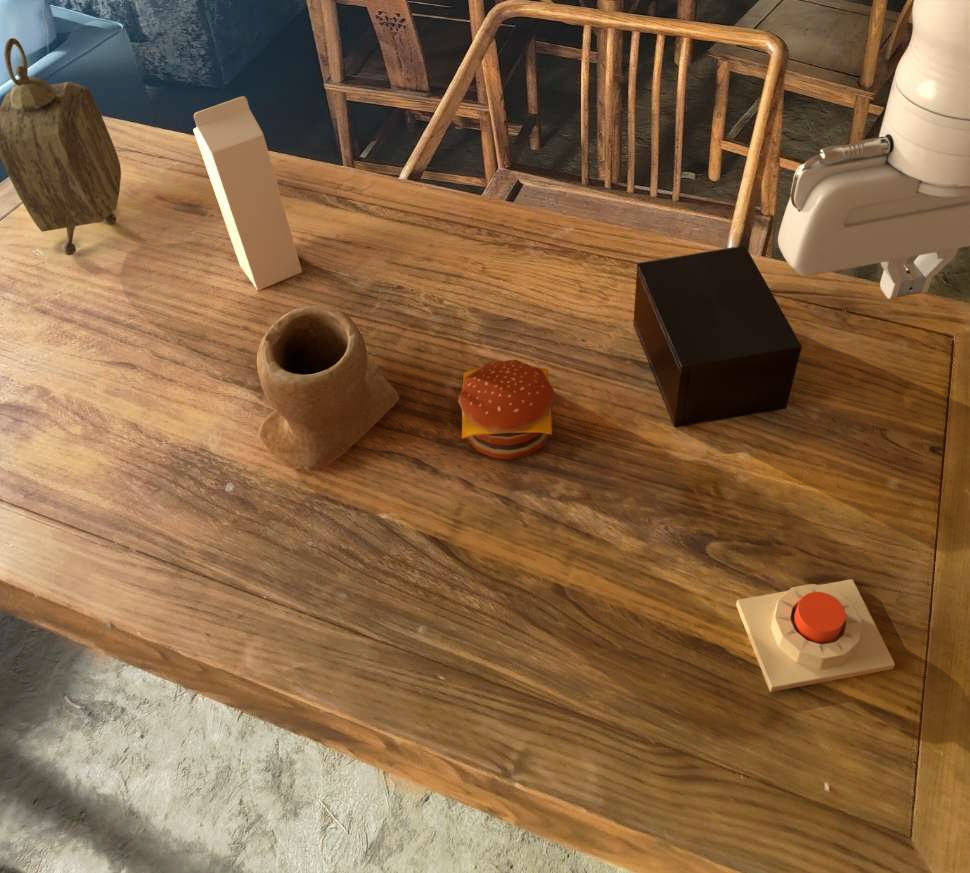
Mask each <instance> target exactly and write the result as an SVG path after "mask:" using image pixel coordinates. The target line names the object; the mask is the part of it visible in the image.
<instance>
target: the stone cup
mask: <svg viewBox="0 0 970 873" xmlns="http://www.w3.org/2000/svg"><path fill="white" fill-rule="evenodd" d="M256 356H257V357H256V368H257V370H256V371H257V375H258V379H259V382H260V386H261V389H262V391H263V393H264V396H265V398H266V399H267V401H268V402H269V404H270V405H271V406H272V407H273V408H274V409H273V410H272V412H270V413H269V414H268V416H266V418H265V419H264V421H263V422H262V423H261V425H260V426H259V429H258V436H259V441H260V442H261V444H262V445H263V447H264V448H265V450H266V451H267V453H268V454H269V455H270V456H271V457H272V458H274V459H275V460H277V461H278V462H280V463H282V464H283V465H285V466H287V467H288V468H292V469H298V470H299V469H304V470H305V471H307V472H314V471H318V470H321V469H324V468H325V467H327V466H328V465H330V464H331V463H333V462H334V461H336V460H337V459H339V458H340V457H341V456H343V455H344V454H345V453H347V452H348V451H349V450H350V449H351V448H352V447H353V446H354V445H355V444H356V443H357V442H358V441H359V440H361V438H363V437H364V436H365V435H366V434H367V433H368V432H369V431H370V430H371V429H372V428H373V427H375V425H376V424H377V423H378V422H379V421H380V420H381V419H382V418H383V417H385V415H386V414H387V413H388V412H389V411H390V410H392V409H393V407H394V406H395V405H396V404H397V403H398V401H399V400H400V396H399V393H398V392H397V390H396V389H395V388H394V387H393V386H392V385H391V384H390V382H389V381H388V380H387V379H386V378H385V377H384V375H383V374H381V373H380V368H379V366H378V365H377V364H376V361H375V360H374V359H373V358H372V357H371V356H370V355H369V354H368V351H367V346H366V342H365V338H364V336H363V335H362V333H361V331H360V329H359V328H358V326H357V325H356V323H355V322H354V320H352V318H351V317H350V315H349V316H348V314H347V313H345V312H343V311H342V310H340V309H338V308H335V307H332V306H327V305H319V304H314V305H308V306H301V307H297V308H295V309H292V310H290V311H288V312H287V313H285V314H284V315H281V317H280V318H278V319H277V320H276V321H275V322H273V324H272V325H270V327H269V329H268V330H267V331H266V332H265V334H264V336H263V337H262V339H261V341H260V343H259V346H258V350H257V353H256Z"/></svg>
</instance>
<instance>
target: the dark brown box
mask: <svg viewBox="0 0 970 873" xmlns="http://www.w3.org/2000/svg"><path fill="white" fill-rule="evenodd" d="M729 248H730V249H725V248H723V249H724V250H718V249H716V250H717V251H712V250H710V251H711V252H706V251H704V252H705V253H700V252H698V253H699V254H694V253H692V254H693V255H688V254H686V255H687V256H682V255H680V256H681V257H675V256H673V257H674V258H669V257H667V258H668V259H663V258H661V259H662V260H657V259H655V260H656V261H651V260H649V261H650V262H645V261H643V262H644V263H639V262H638V263H637V264H636V278H635V292H634V293H635V294H634V310H633V323H632V325H633V328H634V330H635V332H636V335H637V337H638V338H637V339H638V340H639V342H640V345H641V347H642V351H643V354H644V355H645V357H646V360H647V363H648V365H649V367H650V370H651V373H652V375H653V378H654V381H655V383H656V385H657V388H658V391H659V393H660V395H661V398H662V400H663V402H664V405H665V408H666V410H667V412H668V416H669V418H670V420H671V423H672V425H673V427H674V428H679V427H686V426H691V425H698V424H703V423H708V422H709V423H710V422H715V421H720V420H726V419H732V418H737V417H744V416H749V415H755V414H761V413H768V412H773V411H779V410H784V409H787V408H788V404H789V399H790V396H791V391H792V387H793V384H794V380H795V376H796V371H797V368H798V363H799V360H800V357H801V356H800V355H801V353H802V349H803V346H802V344H801V342H800V340H799V338H798V336H797V335H796V333H795V331H794V330H793V328H792V326H791V324H790V322H789V321H788V318H787V317H786V315H785V314H784V311H783V310H782V308H781V307H780V304H779V303H778V301H777V300H776V297H775V296H774V293H773V292H772V291H771V288H770V287H769V285H768V283H767V282H766V281H765V278H764V276H763V275H762V273H761V271H760V269H759V267H758V266H757V264H756V262H755V261H754V259H753V257H752V255H751V254H750V251H749V250H748V248H747V246H746V245H742V246H737V247H736V246H735V248H731V247H729Z"/></svg>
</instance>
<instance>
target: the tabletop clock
mask: <svg viewBox="0 0 970 873" xmlns="http://www.w3.org/2000/svg"><path fill="white" fill-rule="evenodd" d="M14 45H15V46H16V47H17V49H18V51H19V54H20V57H21V65H19V66H16V68H15V70H14V71H15V73H16V76H17V77H18V79H17V78H16V76H15V74H14V72H13V67H12V61H11V60H12V58H11V54H12V49H13V46H14ZM3 55H4V63H5V67H6V70H7V72H8V75H9V77H10V80H11V81H12V82H13V83H14V85H13V86H12V87H11V89H10V90H9V91H8V92H7V93H5V95H4V98H3V100H2V102H1V104H0V159H1V162H2V164H3V166H4V169H5V171H6V173H7V175H8V177H9V179H10V181H11V183H12V185H13V187H14V189H15V191H16V193H17V195H18V197H19V199H20V200H21V202H22V204H23V205H24V206H23V207H24V208H25V209H26V211H27V213H28V214H29V216H30V217H31V219H32V222H34V224H35V225H36V227H37V228H38V229H39V230H40V231H41V232H43V233H44V232H48V231H49V232H50V231H54V230H55V231H56V230H61V229H66V242H64V243H63V245H62V246H61V249H62V251H63V253H64V254H65V255H66V256H72V255H74V254H75V253H76V251H77V248H76V245H75V244H74V243H73V238H74V234H75V233H74V232H75V229H76V227H78V226H85V225H91V224H96V223H102V222H103V221H104V224H106V225H107V226H108V225H109V226H113V225H115V224H116V223H117V217H116V214H114V213H113V212H115V211H116V210H117V206H118V202H119V198H120V191H121V181H122V168H121V162H120V159H119V156H118V153H117V150H116V148H115V145H114V142H113V139H112V137H111V135H110V133H109V130H108V128H107V125H106V123H105V121H104V118H103V116H102V114H101V111H100V109H99V107H98V105H97V103H96V100H95V98H94V96H93V94H92V92H91V91H90V89H89V87H87V86H84V85H82V84H79V83H76V82H74V81H67V82H61V83H60V82H59V83H53V84H51V83H49V82H48V81H46V80H44V79H41V78H39V77H34V76H32V77H29V75H28V70H29V68H28V67H29V66H28V61H27V56H26V53H25V51H24V48H23V46H22V44H21V43H20V41H19V40H18V39H16V38H15V37H14V38H12V37H10V38H9V39H8V40H7V41H6V42H5V46H4V52H3Z"/></svg>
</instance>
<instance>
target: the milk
mask: <svg viewBox="0 0 970 873" xmlns="http://www.w3.org/2000/svg"><path fill="white" fill-rule="evenodd" d="M249 105H250V104H249V102H248V99H247V97H246V96H244V95H242V96H238V97H236V98H233V99H230V100H228V101H225V102H221V103H218V104H216V105H214V106H211V107H208V108H205V109H202V110H199V111H196V112H194V114H193V119H194V122H195V126H196V127H194V128H193V129H192V130H193V134H194V136H195V139H196V142H197V145H198V148H199V152H200V154H201V157H202V160H203V162H204V166H205V169H206V171H207V174H208V177H209V180H210V183H211V186H212V189H213V191H214V194H215V197H216V200H217V203H218V206H219V209H220V212H221V216H222V219H223V220H224V224H225V227H226V230H227V233H228V235H229V238H230V241H231V244H232V247H233V250H234V252H235V256H236V259H237V261H238V264H239V266H240V268H241V269H242V271H243V272H244V273H245V275H246V276H247V278H248V279H249V281H250V282H251V283H252V285H253V286H254V288H255V289H256V290H257V291H261V290H263V289H265V288H268V287H270V286H273V285H275V284H278V283H280V282H282V281H285V280H287V279H290V278H292V277H295V276H297V275H299V274H302V273H303V269H302V267H301V263H300V259H299V255H298V251H297V249H296V245H295V241H294V238H293V235H292V231H291V227H290V224H289V223H290V222H289V220H288V216H287V212H286V209H285V206H284V203H283V199H282V198H283V197H282V195H281V192H280V188H279V184H278V180H277V177H276V173H275V170H274V166H273V163H272V160H271V156H270V153H269V149H268V146H267V142H266V138H265V134H264V132H263V130H262V129H261V127H260V124H259V123H258V121H257V119H256V118H255V116H254V115H253V113H252V110H251V109H250V106H249Z"/></svg>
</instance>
